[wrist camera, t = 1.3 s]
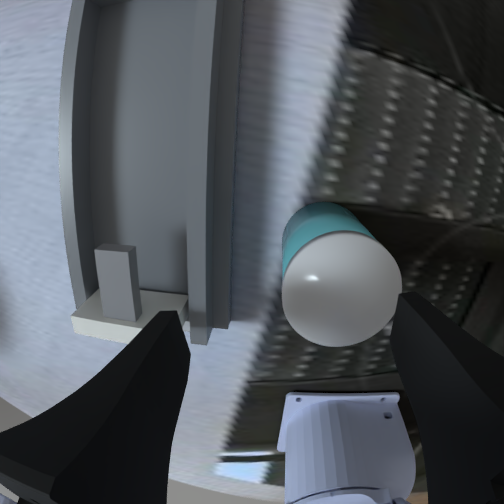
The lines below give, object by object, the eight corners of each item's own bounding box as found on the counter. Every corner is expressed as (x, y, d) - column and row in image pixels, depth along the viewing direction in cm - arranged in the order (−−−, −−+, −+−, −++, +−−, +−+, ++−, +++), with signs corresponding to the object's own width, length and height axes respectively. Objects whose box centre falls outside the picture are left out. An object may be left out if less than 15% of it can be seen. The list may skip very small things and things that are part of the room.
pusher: (188, 233, 18) (164, 259, 15) (190, 312, 20) (171, 351, 16) (95, 227, 19) (58, 249, 15) (104, 300, 21) (74, 332, 17)
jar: (369, 205, 18) (413, 241, 12) (356, 283, 20) (386, 347, 14) (284, 197, 19) (287, 230, 12) (277, 278, 20) (276, 343, 14)
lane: (245, -17, 14) (237, -48, 10) (229, 321, 22) (220, 357, 18) (85, 5, 15) (53, -11, 11) (88, 302, 22) (61, 329, 19)
